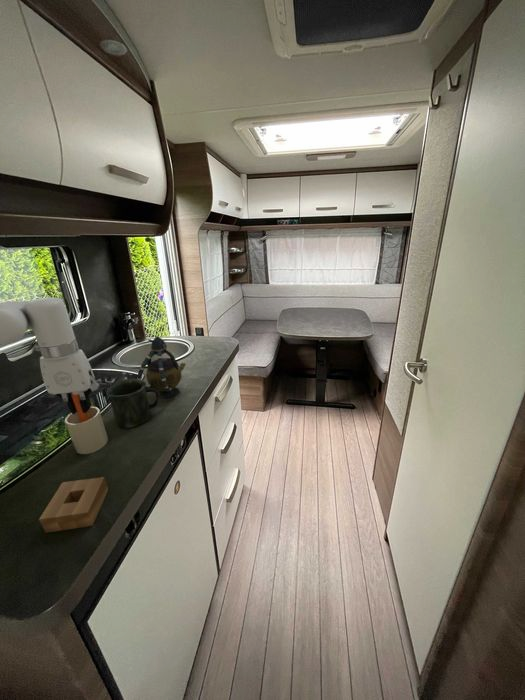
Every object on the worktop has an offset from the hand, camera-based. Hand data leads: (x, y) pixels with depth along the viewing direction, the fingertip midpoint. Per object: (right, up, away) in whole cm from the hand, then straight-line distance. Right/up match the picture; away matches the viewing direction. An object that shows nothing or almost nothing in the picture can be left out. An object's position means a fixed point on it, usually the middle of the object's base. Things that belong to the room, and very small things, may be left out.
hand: (81, 410), depth 76 cm
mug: (+9, -6, +15) cm, 19 cm away
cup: (0, -11, +4) cm, 12 cm away
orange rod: (0, -8, +3) cm, 9 cm away
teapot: (+14, +1, +32) cm, 35 cm away
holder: (+9, -18, -15) cm, 26 cm away
